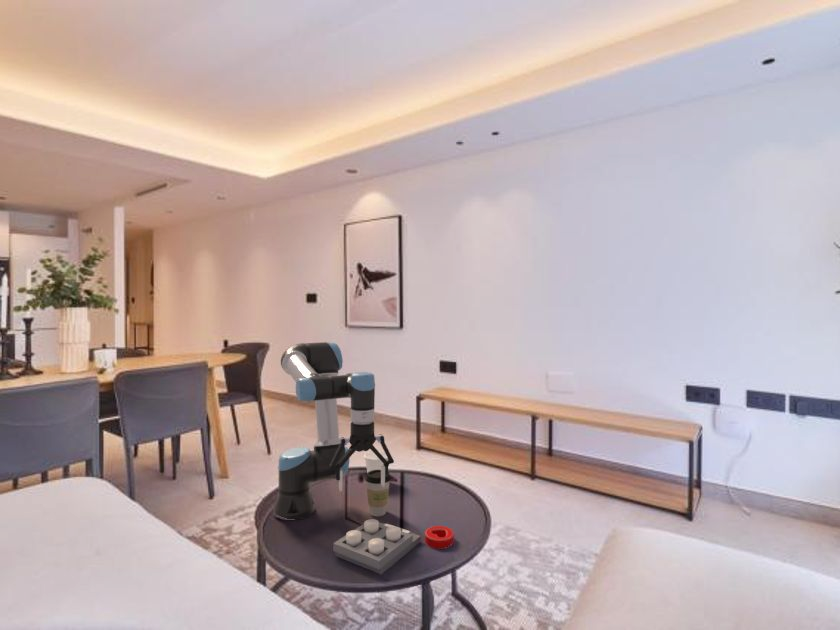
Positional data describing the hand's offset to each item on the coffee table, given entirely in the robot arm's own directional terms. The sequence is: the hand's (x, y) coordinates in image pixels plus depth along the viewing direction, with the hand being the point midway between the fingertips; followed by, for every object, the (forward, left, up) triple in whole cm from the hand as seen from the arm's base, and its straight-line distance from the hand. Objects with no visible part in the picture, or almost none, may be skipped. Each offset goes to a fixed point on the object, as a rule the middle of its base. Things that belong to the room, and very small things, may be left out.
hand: (362, 487), depth 146 cm
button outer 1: (+8, -3, -17) cm, 19 cm away
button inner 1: (-1, -3, -17) cm, 18 cm away
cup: (-31, +48, -21) cm, 61 cm away
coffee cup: (-13, +25, -21) cm, 35 cm away
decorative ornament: (+17, +20, -22) cm, 34 cm away
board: (+3, +5, -21) cm, 22 cm away
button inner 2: (-1, +6, -17) cm, 18 cm away
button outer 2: (+8, +6, -17) cm, 20 cm away
